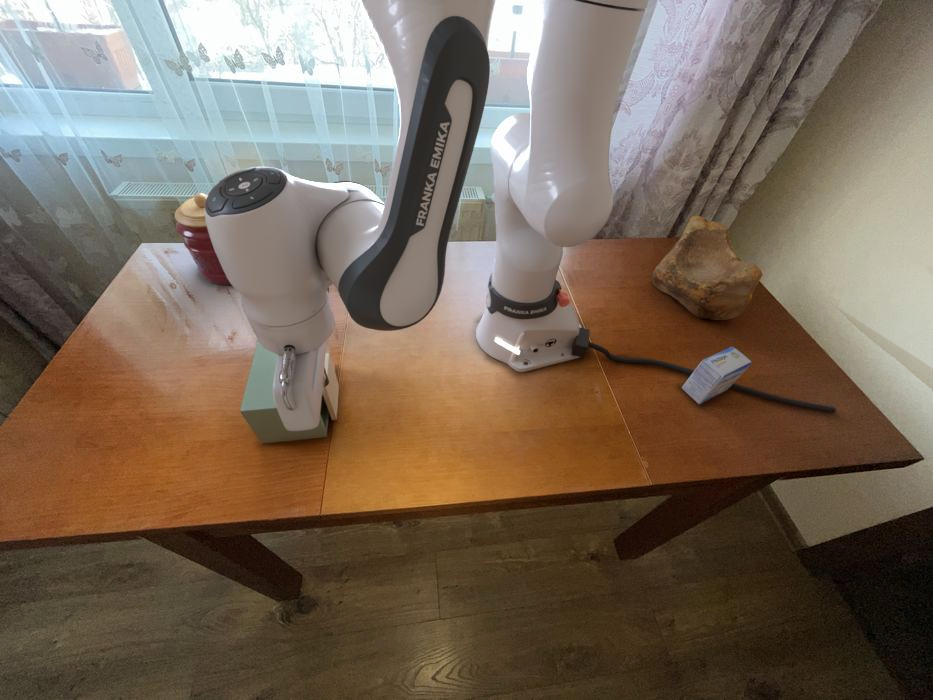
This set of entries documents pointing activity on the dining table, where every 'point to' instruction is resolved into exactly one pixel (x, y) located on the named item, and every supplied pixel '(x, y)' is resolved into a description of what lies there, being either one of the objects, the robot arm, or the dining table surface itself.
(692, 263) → the rough brown rock
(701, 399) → the medicine box
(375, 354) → the dining table surface
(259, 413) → the cabinet
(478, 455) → the dining table surface
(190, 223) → the kitchen canister
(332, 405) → the slide door
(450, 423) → the dining table surface
